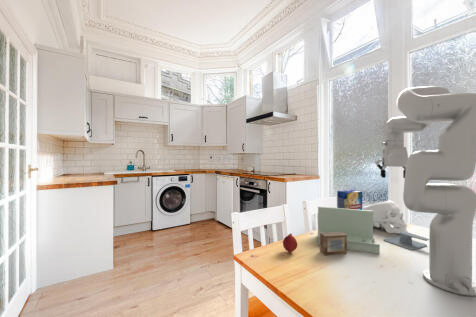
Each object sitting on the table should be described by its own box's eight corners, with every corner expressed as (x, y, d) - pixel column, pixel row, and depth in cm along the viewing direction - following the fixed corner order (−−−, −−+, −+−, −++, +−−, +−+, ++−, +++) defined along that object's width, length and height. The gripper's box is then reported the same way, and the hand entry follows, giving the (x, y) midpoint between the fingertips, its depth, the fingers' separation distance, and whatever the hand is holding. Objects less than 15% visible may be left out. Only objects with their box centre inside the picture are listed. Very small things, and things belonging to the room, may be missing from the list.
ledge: (379, 253, 87) (379, 217, 87) (317, 244, 96) (318, 212, 96) (372, 242, 99) (372, 210, 99) (317, 235, 107) (318, 206, 107)
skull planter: (405, 235, 103) (386, 198, 111) (369, 241, 119) (354, 208, 127) (419, 230, 110) (399, 196, 117) (382, 237, 125) (367, 206, 133)
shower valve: (420, 241, 88) (382, 230, 101) (420, 254, 88) (382, 241, 101) (435, 236, 93) (397, 226, 107) (435, 249, 93) (397, 237, 107)
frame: (347, 254, 87) (347, 234, 87) (325, 255, 85) (325, 236, 85) (341, 250, 90) (341, 231, 90) (319, 251, 89) (320, 233, 89)
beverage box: (362, 232, 112) (362, 191, 112) (348, 235, 108) (348, 192, 107) (350, 228, 118) (350, 189, 118) (336, 231, 114) (337, 191, 114)
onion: (287, 256, 84) (287, 236, 84) (280, 250, 90) (280, 231, 90) (299, 254, 86) (300, 235, 86) (292, 248, 91) (292, 230, 91)
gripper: (377, 144, 106) (377, 178, 106) (418, 143, 101) (418, 179, 101) (372, 145, 113) (372, 176, 113) (410, 144, 108) (410, 177, 108)
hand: (394, 177), depth 107 cm, fingers open, 9 cm apart
